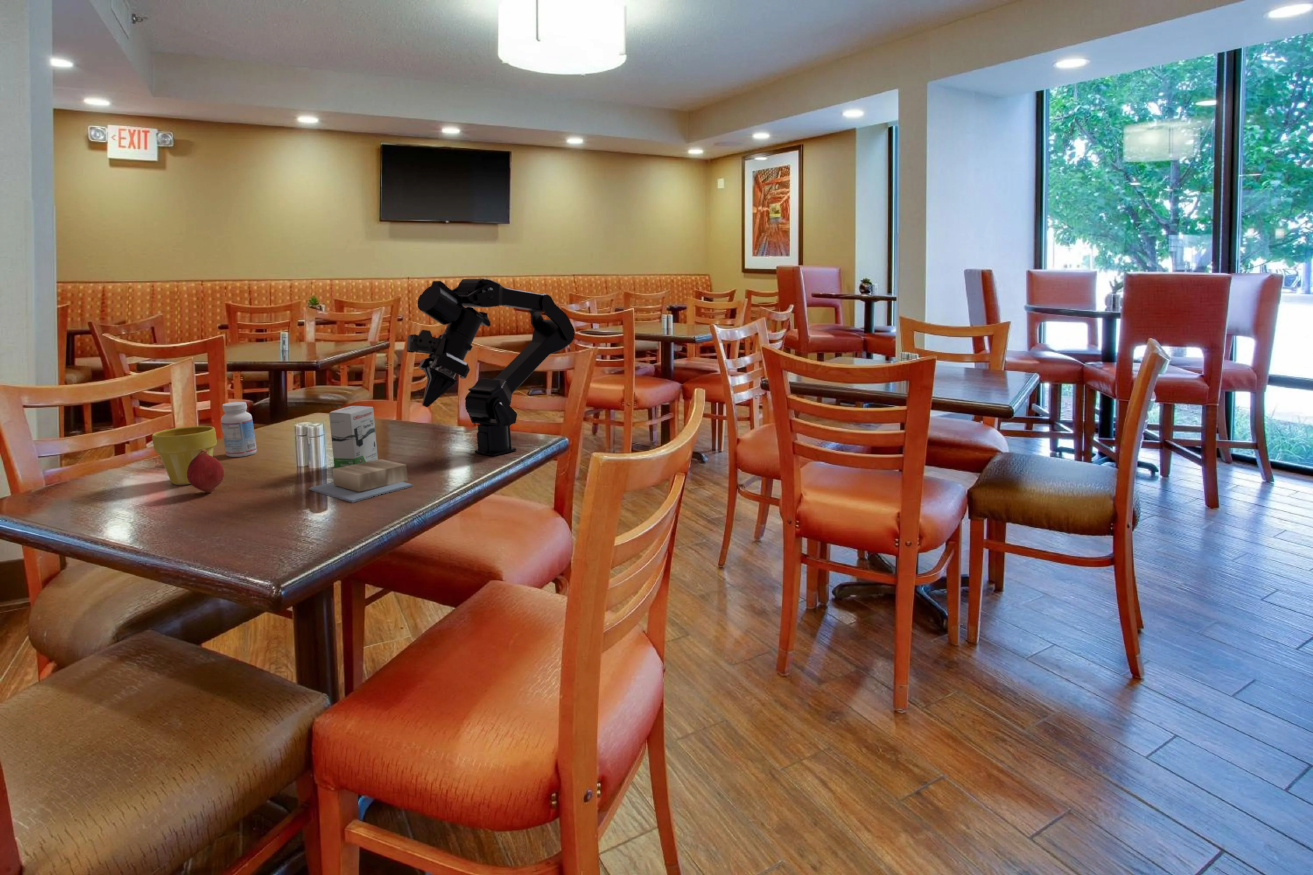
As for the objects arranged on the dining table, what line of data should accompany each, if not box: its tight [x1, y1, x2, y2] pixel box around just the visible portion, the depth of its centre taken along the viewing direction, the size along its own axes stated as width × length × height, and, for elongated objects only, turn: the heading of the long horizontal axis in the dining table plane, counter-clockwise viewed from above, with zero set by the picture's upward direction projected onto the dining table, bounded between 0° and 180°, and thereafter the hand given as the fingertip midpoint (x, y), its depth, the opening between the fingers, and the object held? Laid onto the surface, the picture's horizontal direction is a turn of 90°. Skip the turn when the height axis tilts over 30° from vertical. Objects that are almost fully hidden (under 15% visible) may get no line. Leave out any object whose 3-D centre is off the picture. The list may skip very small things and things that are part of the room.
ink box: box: [328, 405, 379, 469], centre depth 160 cm, size 9×5×12 cm, turn 168°
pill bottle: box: [220, 401, 258, 458], centre depth 173 cm, size 6×6×11 cm
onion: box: [187, 449, 225, 494], centre depth 144 cm, size 6×6×8 cm
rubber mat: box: [309, 481, 413, 503], centre depth 146 cm, size 12×14×1 cm
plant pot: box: [151, 425, 218, 486], centre depth 153 cm, size 10×10×10 cm
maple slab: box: [332, 458, 408, 492], centre depth 147 cm, size 3×8×10 cm
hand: (424, 406), depth 158 cm, fingers closed
